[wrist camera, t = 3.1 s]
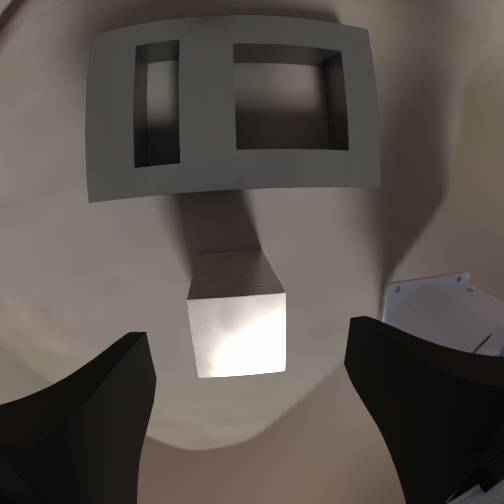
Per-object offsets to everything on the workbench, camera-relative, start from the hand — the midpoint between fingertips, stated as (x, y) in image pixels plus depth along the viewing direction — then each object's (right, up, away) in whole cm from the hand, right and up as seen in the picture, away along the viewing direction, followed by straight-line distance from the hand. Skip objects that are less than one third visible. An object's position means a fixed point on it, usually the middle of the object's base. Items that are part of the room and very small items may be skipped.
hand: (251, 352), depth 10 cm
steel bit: (-1, +1, +9) cm, 9 cm away
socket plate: (-1, +12, +6) cm, 14 cm away
